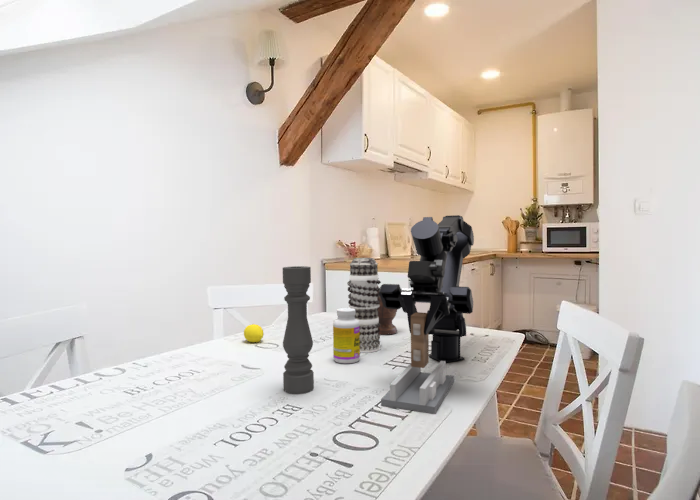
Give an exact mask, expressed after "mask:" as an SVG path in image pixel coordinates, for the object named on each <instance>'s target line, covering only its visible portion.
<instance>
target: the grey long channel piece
mask: <svg viewBox="0 0 700 500" xmlns="http://www.w3.org/2000/svg"><path fill="white" fill-rule="evenodd" d="M421 369H422V368H418V367H411V363H410V364H408V365H407V366H406V368H404V369H403V371H401V372H400V373H399V374H398V376H396V378H395V379H393V380H392V381H391V383H390V384H389V390H388V391H387V392H386V393H385V395H384V396H383V397H381V399H380V406H381V407H389V408H395V409H401V410H402V409H403V410H407V411H415V412H421V413H427V414H433V415H435V414H436V413H437V412H438V410H439V408H440V407H441V405H442V403H443V401H444V400H445V399H446V398H445V397H446V396H447V395H448V393H449V391H450V389H451V387H452V386H453V384H454V383H455V376H454V375H448V374H447V363H446V361H439V363H438V364H437V366H436V367H434V369H433V371H432V372H431V373H430V372H421V371H422V370H421Z"/></svg>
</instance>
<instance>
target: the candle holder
mask: <svg viewBox="0 0 700 500" xmlns="http://www.w3.org/2000/svg"><path fill="white" fill-rule="evenodd" d="M311 271H312V270H311V266H305V265H304V266H303V265H302V266H299V265H298V266H296V265H295V266H283V267H282V284H283V285H284V286H283V287H284V289H285V291H286V292H287V294H286V295H285V296H284V298H283V301H285V302H286V304H287V321H286V326H285V331H284V335H283V340H282V347H283V350H284V352H285V353H286V354H287V355H286V357H287V358H288V360H287V361H286V363H285V364H284V371H283V373H282V375H283V377H282V378H283V380H282V381H283V384H282V385H283V391H284V392H285V393H286V394H290V395H291V394H292V395H302V394H306V393H307V394H308V393H310V392H312V391H314V388H315V384H314V382H315V379H314V374H315V373H314V371H313V370H312V368H313V363H312V362H311V361H310V360H309V358H308V357H309V356H310V354H309V353H310V352H311V350H312V349H313V345H314V341H313V337H312V333H311V329H310V324H309V322H308V310H307V307H308V306H307V304H308V301H309V300H310V299H311V296H310V295H309V294H308V293H307V292H308V290H309V288H310V284H311V283H312V279H311V277H312V276H311V274H312V273H311Z"/></svg>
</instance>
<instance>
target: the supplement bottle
mask: <svg viewBox="0 0 700 500" xmlns="http://www.w3.org/2000/svg"><path fill="white" fill-rule="evenodd" d="M355 314H356V310H355V309H353V308H350V307H341V308H337V309H336V315H337V318H336V319H334V320H333V323H332V330H333V331H332V334H333V335H332V336H333V337H332V339H333V340H332V341H333V342H332V344H333V345H332V346H333V347H332V348H333V349H332V351H333V352H332V353H333V355H332V356H333V361H334V362H336V363H338V364H354V363H357V362H358V361H360V358H361V353H360V325H359V321H358V320H357V319H355Z"/></svg>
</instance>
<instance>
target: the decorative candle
mask: <svg viewBox="0 0 700 500" xmlns="http://www.w3.org/2000/svg"><path fill="white" fill-rule="evenodd" d="M378 264H379V263H378V262H377V261H376V260H375V258H373V257H355V258H353V259H352V261H351V262H350V263H349V266H350V267H349V273H350V274H349V281H347V286H348V287H347V291H348V293H349V294H348V295H347V297H348V299H349V300H348V308H353V309H355V310H356V314H355V319H357V320H358V321H359V325H360V354H361V353H362V354H368V353H375V352H378V351H380V349H381V346H380V345H381V341H380V339H381V335H380V334H378V333H379V332H380V329H379V328H378V327H379V326H380V324H379V323H378V322H379V317H378V307H379V306H380V305H379V304H380V302H379V301H377V297H379V293H378V294H377V291H378V292H379V289H380V287H379V285H380V284H381V283H382V281H380V280H379V279H380V278H379V273H378V272H379V271H378ZM377 285H378V287H379V288H378V287H377Z"/></svg>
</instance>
